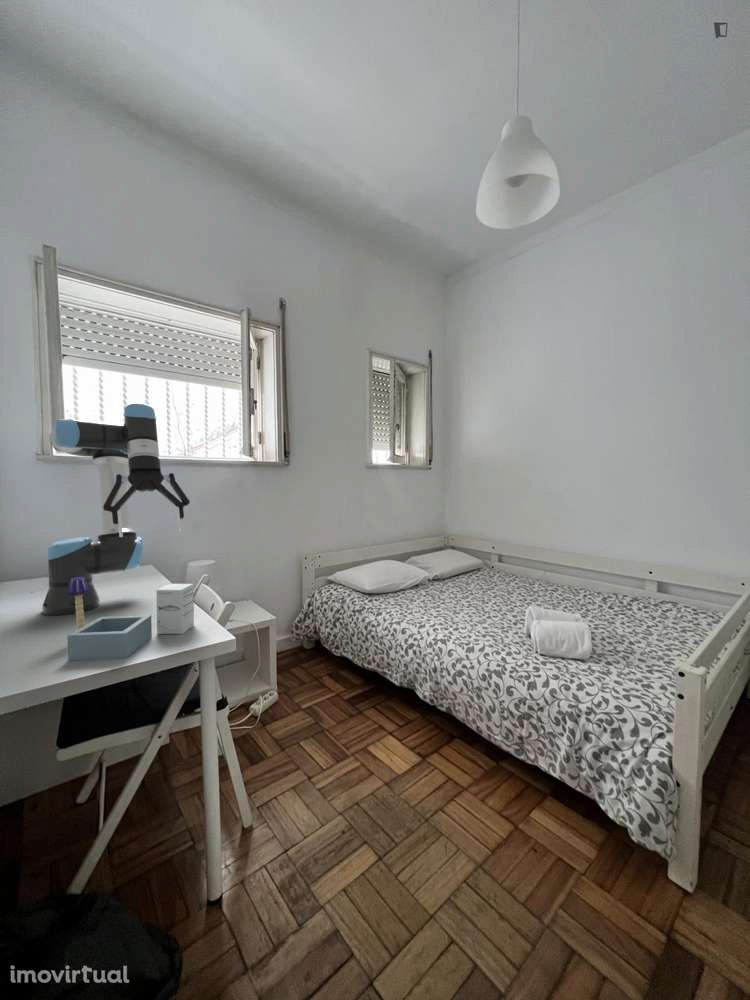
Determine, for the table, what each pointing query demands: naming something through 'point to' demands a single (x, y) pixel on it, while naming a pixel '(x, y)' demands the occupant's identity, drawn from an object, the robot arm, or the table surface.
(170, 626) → the supplement box
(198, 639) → the table surface
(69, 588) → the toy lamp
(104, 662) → the table surface
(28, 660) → the table surface
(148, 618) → the blue-gray open box
